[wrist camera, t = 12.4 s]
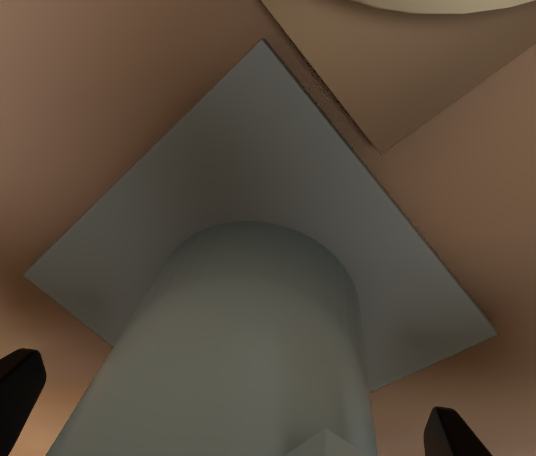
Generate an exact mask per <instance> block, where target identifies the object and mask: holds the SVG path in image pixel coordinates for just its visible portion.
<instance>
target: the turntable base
mask: <svg viewBox="0 0 536 456" xmlns="http://www.w3.org/2000/svg"><path fill="white" fill-rule="evenodd" d="M261 1H262V3H263V4H264V5H265V6H266V8H267V9H268V10H269V12H270V13H271V14H272V15H273V17H274V18H275V19H276V21H277V22H278V23H279V24H280V26H281V27H282V28H283V30H284V31H285V32H286V33H287V35H288V36H289V37H290V39H291V40H292V41H293V42H294V44H295V45H296V46H297V48H298V49H299V50H300V51H301V53H302V54H303V55H304V57H305V58H306V59H307V61H308V62H309V63H310V64H311V66H312V67H313V68H314V70H315V71H316V72H317V73H318V75H319V76H320V77H321V79H322V80H323V81H324V82H325V84H326V85H327V86H328V88H329V89H330V90H331V91H332V93H333V94H334V95H335V97H336V98H337V99H338V100H339V102H340V103H341V104H342V106H343V107H344V108H345V109H346V111H347V112H348V113H349V115H350V116H351V117H352V119H353V120H354V121H355V122H356V124H357V125H358V126H359V128H360V129H361V130H362V131H363V133H364V134H365V135H366V137H367V138H368V139H369V140H370V142H371V143H372V144H373V146H374V147H375V148H376V149H377V151H378V152H379V153H380V155H381V154H383V153H384V152H385V151H387V150H388V149H390V148H391V147H392V146H394V145H395V144H397V143H398V142H399V141H401V140H402V139H403V138H405V137H406V136H408V135H409V134H410V133H412V132H413V131H415V130H416V129H417V128H419V127H420V126H422V125H423V124H424V123H426V122H427V121H428V120H430V119H431V118H433V117H434V116H435V115H437V114H438V113H440V112H441V111H442V110H444V109H445V108H447V107H448V106H449V105H451V104H452V103H453V102H455V101H456V100H458V99H459V98H460V97H462V96H463V95H465V94H466V93H467V92H469V91H470V90H472V89H473V88H474V87H476V86H477V85H478V84H480V83H481V82H483V81H484V80H485V79H487V78H488V77H490V76H491V75H492V74H494V73H495V72H497V71H498V70H499V69H501V68H502V67H503V66H505V65H506V64H508V63H509V62H510V61H512V60H513V59H515V58H516V57H517V56H519V55H520V54H522V53H523V52H524V51H526V50H527V49H528V48H530V47H531V46H533V45H534V44H535V43H536V0H535V1H531V2H528V3H524V4H520V5H516V6H513V7H509V8H502V9H495V10H487V11H480V12H473V13H466V14H418V13H405V12H399V11H392V10H385V9H378V8H373V7H370V6H367V5H363V4H360V3H357V2H354V1H350V0H261Z"/></svg>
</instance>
